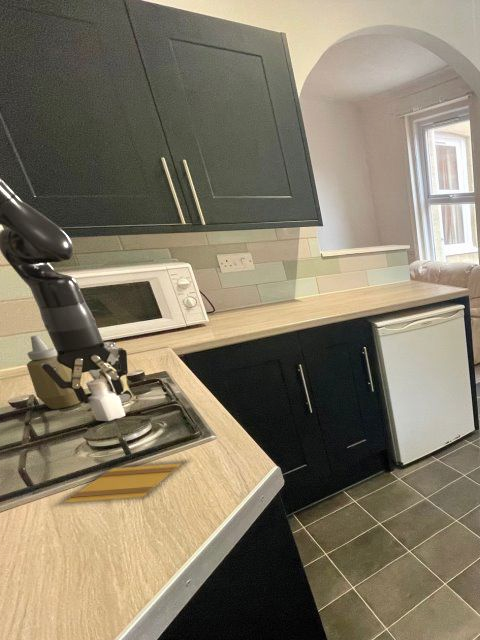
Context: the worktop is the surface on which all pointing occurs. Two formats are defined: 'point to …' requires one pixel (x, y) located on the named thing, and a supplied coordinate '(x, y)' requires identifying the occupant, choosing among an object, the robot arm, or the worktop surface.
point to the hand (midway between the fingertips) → (102, 398)
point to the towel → (124, 483)
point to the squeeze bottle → (43, 382)
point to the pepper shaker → (104, 401)
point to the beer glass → (100, 374)
